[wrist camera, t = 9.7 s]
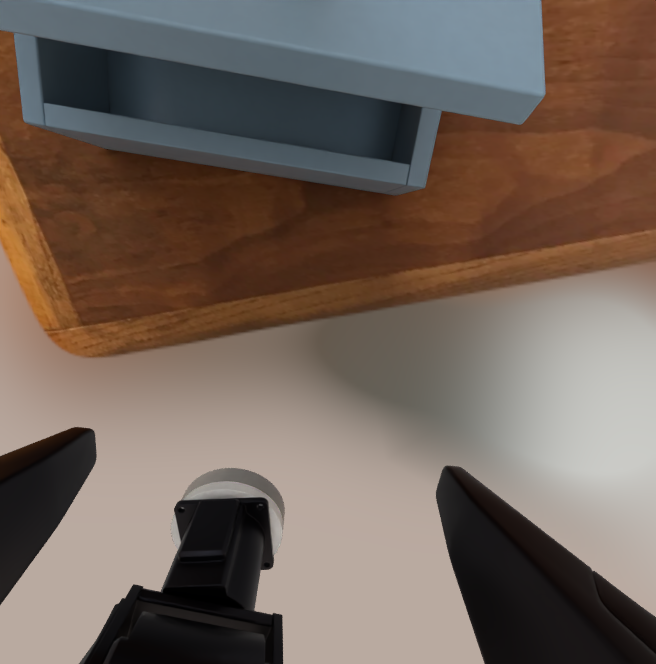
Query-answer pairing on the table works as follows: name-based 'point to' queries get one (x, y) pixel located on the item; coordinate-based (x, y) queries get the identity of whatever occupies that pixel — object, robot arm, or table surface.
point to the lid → (326, 44)
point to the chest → (224, 118)
